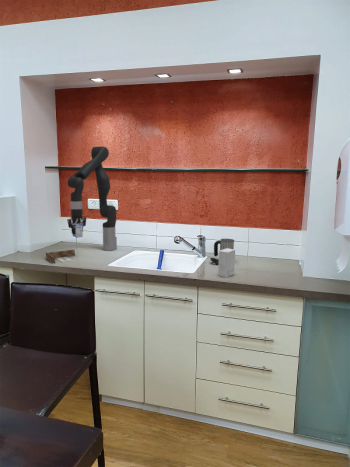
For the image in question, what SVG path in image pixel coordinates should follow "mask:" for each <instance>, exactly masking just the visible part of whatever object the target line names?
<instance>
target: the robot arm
mask: <svg viewBox="0 0 350 467" xmlns="http://www.w3.org/2000/svg"><path fill="white" fill-rule="evenodd" d="M90 155H91V160H89V161H87V162H86V163H84V164H82V166H81V167H80V168H79V169H78V170H77V172H75V173H74V174H72V175H71V176H70V177H69V178H68V180H67V182H66V184H67V187H69V188H70V189H74V191H72V192H71V193H70V216H71V217H70V218H67V219H66V222H67V225H68V226H67V227H68V228H69V229H71V234H72V235H73V234H75V224H78V223H80V224H82V230H83V231H84V227H86V225H87V217H86V216H85V217H84V216H83V215H84V214H83V210H84V209H83V196H82V195H83V192H84V191H83V190H84V186H85V182H84V180H87V179H88V177H89V176H90V175H91V174H92V173H93V172H94V173H95V179H96V187H97V193H98V205H99V206H98V208H99V214H100V216H101V217H102V218H105V219H106V221H105V222H102V248H103V251H108V252H109V251H111V252H112V251H115V250H117V249H118V243H117V241H118V240H117V236H116V224H117V209H116V206H114V205H112V204H108V198H107V197H108V195H109V193H110V190H111V180H110V178H109V175H108V173H107V172H106V170H105V168H104V166H103V164H102V163H104V161H106V160H107V159H108V158H109V155H110V152H109V149H108V147H106V146H93V147H92V148H91V151H90Z"/></svg>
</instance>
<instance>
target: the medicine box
mask: <svg viewBox="0 0 350 467" xmlns="http://www.w3.org/2000/svg"><path fill="white" fill-rule="evenodd" d="M83 232H84V229H83V230H82V224H80V223H78V224H75V234H72V237H75V238H83V237H84V236H83V234H84V233H83Z"/></svg>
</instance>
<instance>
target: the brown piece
mask: <svg viewBox="0 0 350 467" xmlns="http://www.w3.org/2000/svg"><path fill="white" fill-rule="evenodd" d="M74 256H76V251H75V249H67V250H59V251H51V252H45V259H46V260H47V261H49V262H50V263H51V262H52V263H51V264H53V263H54V264H56V258H62V257H68V258H69V257H74Z"/></svg>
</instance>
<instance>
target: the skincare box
mask: <svg viewBox="0 0 350 467" xmlns="http://www.w3.org/2000/svg"><path fill="white" fill-rule="evenodd" d="M235 259H236V250H235V249H234V250H233V249H229V248H226V249H223V250H220V249H219V250H218V260H219V264H218V272H217V273H218V274H217V275H218V276H220V277H223V278H228V277H230V276H233V275H235V262H236V261H235Z"/></svg>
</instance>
